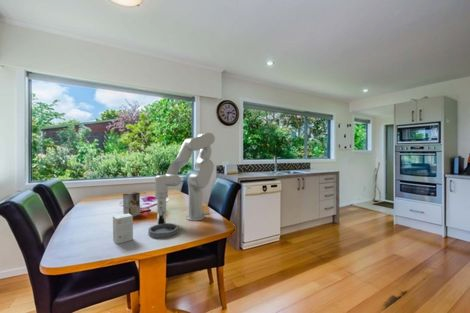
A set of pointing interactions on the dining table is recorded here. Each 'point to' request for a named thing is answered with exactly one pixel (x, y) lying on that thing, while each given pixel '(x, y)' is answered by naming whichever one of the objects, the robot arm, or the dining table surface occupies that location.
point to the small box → (122, 228)
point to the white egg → (158, 218)
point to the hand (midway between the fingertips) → (161, 222)
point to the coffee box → (131, 203)
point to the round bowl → (163, 230)
